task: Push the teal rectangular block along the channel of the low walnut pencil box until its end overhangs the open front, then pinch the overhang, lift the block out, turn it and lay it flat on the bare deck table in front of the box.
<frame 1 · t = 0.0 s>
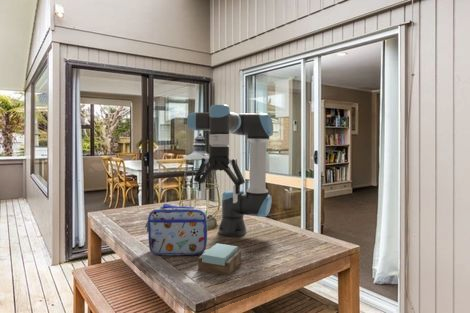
hand: (218, 201, 125), 28 cm above the table, fingers open, 13 cm apart
teal rectangular block: (220, 257, 132), point 4 cm above the table, touching pencil box
pencil box: (220, 266, 132), on the table
lunch box: (176, 253, 146), on the table
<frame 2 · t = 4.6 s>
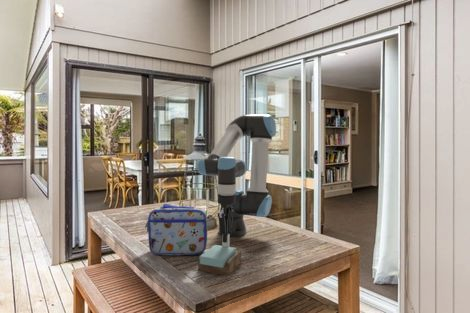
hand: (225, 248, 137), 5 cm above the table, fingers closed
teal rectangular block: (218, 259, 130), point 4 cm above the table, touching gripper
everything else where it was.
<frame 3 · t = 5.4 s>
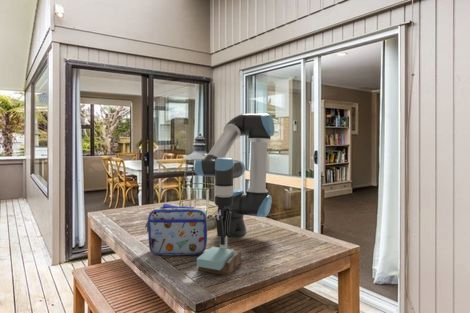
hand: (223, 251, 134), 5 cm above the table, fingers closed
teal rectangular block: (215, 261, 127), point 4 cm above the table, touching gripper, pencil box
everything else where it was.
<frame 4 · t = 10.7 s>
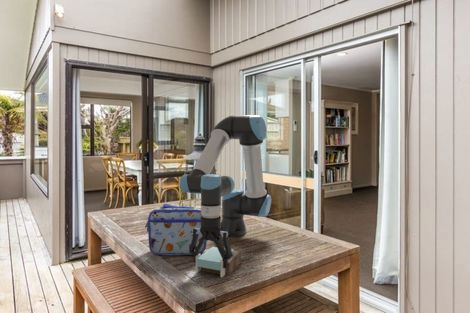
hand: (210, 273, 123), 1 cm above the table, fingers closed on teal rectangular block, 10 cm apart
teal rectangular block: (215, 261, 127), point 4 cm above the table, touching gripper, pencil box
everything else where it was.
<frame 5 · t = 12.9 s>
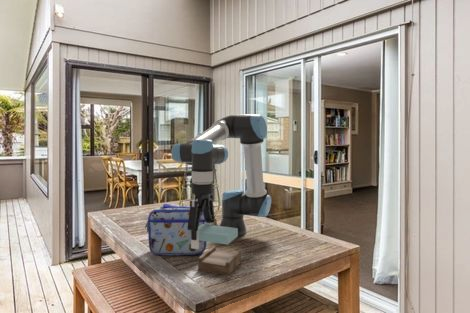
hand: (201, 243, 117), 14 cm above the table, fingers closed on teal rectangular block, 10 cm apart
teal rectangular block: (214, 237, 115), point 17 cm above the table, touching gripper
everything else where it was.
when the fingers open (0 cm above the table, at t = 15.3 s): teal rectangular block drops 4 cm, on the table.
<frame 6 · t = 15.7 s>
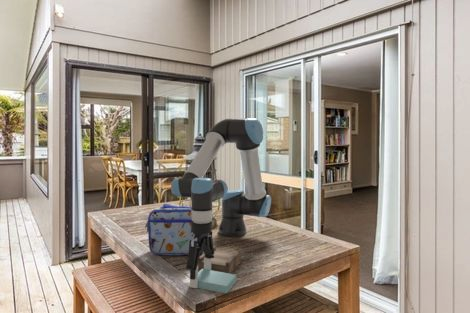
hand: (200, 281, 118), 0 cm above the table, fingers open, 10 cm apart
teal rectangular block: (213, 284, 116), on the table
everything else where it was.
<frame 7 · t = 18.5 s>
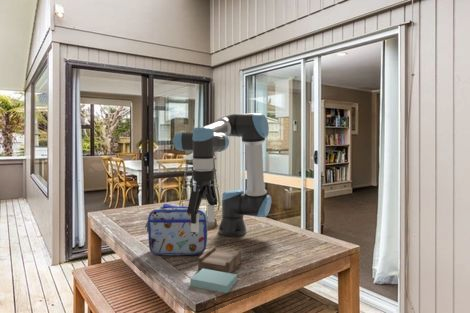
hand: (203, 226, 120), 19 cm above the table, fingers open, 13 cm apart
nothing on the table moved.
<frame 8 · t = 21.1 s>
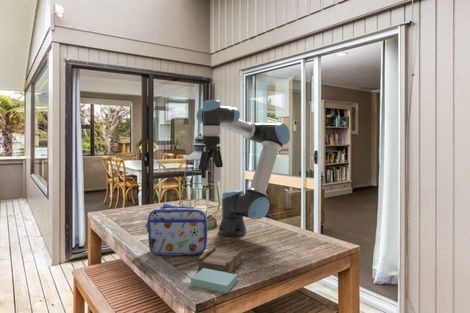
hand: (211, 183, 144), 32 cm above the table, fingers open, 13 cm apart
nothing on the table moved.
at the end: teal rectangular block inside the target area (5.2 cm from its centre), on the table; teal rectangular block tilted 0°; teal rectangular block touching table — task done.
